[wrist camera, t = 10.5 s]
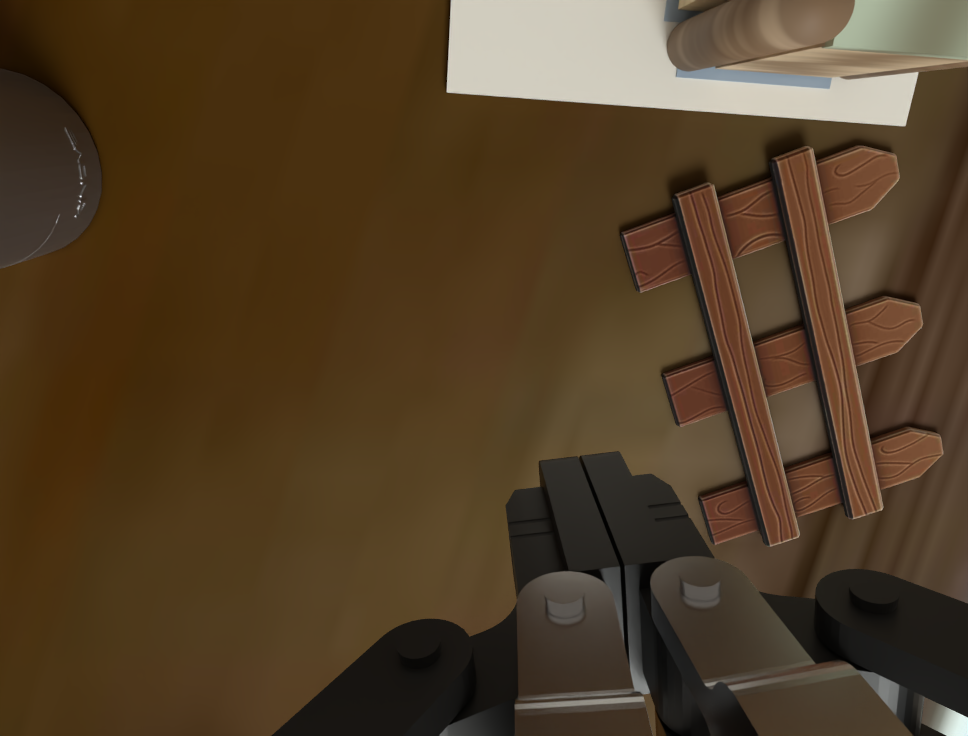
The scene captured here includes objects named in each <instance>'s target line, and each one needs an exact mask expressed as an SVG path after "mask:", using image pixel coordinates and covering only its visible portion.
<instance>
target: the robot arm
mask: <svg viewBox="0 0 968 736" xmlns="http://www.w3.org/2000/svg"><path fill="white" fill-rule="evenodd" d="M100 195H101V167H100V162H99V157H98V152H97V150H96V147H95V145H94V143H93V140H92V138H91V136H90V133H89V131H88V130H87V128H86V127H85V125H84V124H83V122H82V121H81V119H80V118H79V116H78V115H77V113H76V112H75V111H74V110H73V109H72V108H71V107H70V106H69V105H68V104H67V103H66V102H65V101H64V100H63V98H61V97H60V96H59V95H57V94H56V93H55V92H53V91H52V90H51V89H49V88H48V87H47V86H45V85H44V84H42V83H40V82H38V81H36V80H34V79H32V78H30V77H28V76H26V75H24V74H20V73H16V72H13V71H9V70H5V69H0V268H4V267H7V266H10V265H14V264H17V263H20V262H23V261H26V260H29V259H32V258H35V257H38V256H41V255H44V254H48V253H50V252H53V251H55V250H58V249H61V248H63V247H65V246H66V245H68V244H69V243H71V242H72V241H74V240H75V239H77V238H78V237H79V236H80V235H81V234H82V232H83V231H84V230H85V229H86V228H87V227H88V225H89V224H90V222H91V220H92V218H93V216H94V214H95V212H96V210H97V208H98V204H99V199H100ZM539 476H540V487H536V488H528V489H519V490H515V491H514V492H513V494H512V496H511V498H510V499H509V501H508V503H507V504H506V513H507V522H508V531H509V539H510V548H511V557H512V566H513V575H514V582H515V589H516V596H517V603H516V605H515V608H514V609H513V611H512V612H511V613H510V614H509V615H508V616H507V618H506V619H504V620H503V621H502V622H500V623H499V624H498V625H496V626H494V627H492V628H491V629H488V630H486V631H484V632H481V633H479V634H476V635H473V636H471V637H469V635H468V634H467V633H466V632H465V630H464V629H462V628H461V627H460V626H458V625H456V624H454V623H452V622H449V621H446V620H440V619H421V620H416V621H411V622H408V623H405V624H402V625H400V626H398V627H396V628H394V629H392V630H391V631H389V632H388V633H387V634H385V635H384V636H383V637H382V638H380V639H379V640H378V641H377V642H376V643H375V644H374V645H373V646H371V647H370V648H369V649H368V650H367V651H366V652H365V653H364V654H363V655H361V656H360V657H359V658H358V659H357V660H356V661H355V662H354V663H352V664H351V665H350V666H349V667H348V668H347V669H346V670H345V671H343V672H342V673H341V674H340V675H339V676H338V677H337V678H336V679H335V680H333V681H332V682H331V683H330V684H329V685H328V686H327V687H326V688H324V689H323V690H322V691H321V692H320V693H319V694H318V695H317V696H316V697H314V698H313V699H312V700H311V701H310V702H309V703H308V704H307V705H305V706H304V707H303V708H302V709H301V710H300V711H299V712H298V713H296V714H295V715H294V716H293V717H292V718H291V719H290V720H289V721H288V722H286V723H285V724H284V725H283V726H282V727H281V728H280V729H279V730H277V731H276V732H275V733H274V734H273V735H272V736H653V735H652V730H651V726H650V722H649V718H648V714H647V709H646V705H645V701H644V698H643V695H642V694H648V693H650V694H651V697H652V699H653V702H654V705H655V722H656V736H946V735H944V734H942V733H940V732H938V731H936V730H934V729H932V728H930V727H928V726H926V725H924V724H922V723H921V721H922V713H923V705H924V697H926V698H928V699H930V700H932V701H935V702H937V703H939V704H941V705H943V706H945V707H947V708H949V709H951V710H953V711H956V712H958V713H960V714H962V715H964V716H966V717H968V604H967V603H965V602H962V601H959V600H957V599H954V598H951V597H948V596H946V595H943V594H940V593H938V592H935V591H932V590H930V589H927V588H924V587H922V586H919V585H916V584H914V583H911V582H908V581H906V580H903V579H900V578H897V577H895V576H892V575H889V574H886V573H881V572H877V571H871V570H863V569H848V570H841V571H837V572H833V573H831V574H829V575H827V576H825V577H824V578H822V579H821V580H820V581H819V583H818V584H817V587H816V594H815V599H810V598H800V597H789V596H779V595H772V594H767V593H763V592H759V591H758V590H757V589H756V588H755V587H754V585H753V584H752V583H751V582H750V580H749V579H748V578H747V576H746V575H745V574H744V573H743V572H742V571H740V570H739V569H738V568H736V567H735V566H733V565H731V564H729V563H727V562H724V561H722V560H718V559H715V558H714V556H713V555H712V553H711V551H710V550H709V548H708V546H707V545H706V543H705V541H704V540H703V538H702V536H701V535H700V533H699V532H698V530H697V528H696V527H695V525H694V523H693V522H692V520H691V518H689V517H688V513H687V512H686V510H685V509H684V507H683V505H681V503H680V500H679V499H678V497H677V495H676V494H675V492H674V490H673V489H672V487H671V486H670V485H668V484H667V483H665V482H664V481H662V480H660V479H659V478H657V477H656V476H654V475H653V474H644V475H636V476H632V475H631V473H630V471H629V469H628V467H627V465H626V463H625V461H624V459H623V457H622V456H621V454H620V452H619V451H617V452H608V453H600V454H592V455H583V456H580V457H579V458H578V457H577V456H576V457H567V458H559V459H551V460H542V461H539Z"/></svg>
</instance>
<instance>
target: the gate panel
mask: <svg viewBox="0 0 968 736" xmlns="http://www.w3.org/2000/svg"><path fill="white" fill-rule="evenodd" d="M728 1H730V0H679V6H678V9H679V10H690V11H700V12H705V11H707V10H710V9H712V8H714V7H717V6H719V5H721V4H723V3H726V2H728Z"/></svg>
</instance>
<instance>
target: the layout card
mask: <svg viewBox="0 0 968 736" xmlns="http://www.w3.org/2000/svg"><path fill="white" fill-rule="evenodd" d="M678 6H679V0H451V11H450V32H449V53H448V74H447V93H460V94H473V95H487V96H500V97H514V98H527V99H541V100H554V101H568V102H581V103H595V104H608V105H622V106H636V107H649V108H663V109H676V110H690V111H703V112H717V113H730V114H744V115H757V116H771V117H784V118H798V119H812V120H825V121H839V122H852V123H866V124H879V125H893V126H905V125H906V121H907V117H908V113H909V109H910V105H911V101H912V97H913V93H914V89H915V85H916V80H917V76H918V72H914V73H905V74H896V75H887V76H878V77H869V78H860V79H851V80H846V79H842V78H840V77H833V78H827V77H815V76H802V75H789V74H776V73H763V72H750V71H738V70H725V69H715V67H710V68H705V69H701V70H696V71H690V72H687V71H682V70H680V69H678V68H676V67H675V66H674V65H673V64H672V63H671V61H670V59H669V57H668V53H667V42H668V38H669V36H670V33H671V32H672V30H673V29H674V28H675V27H676V26H677V25H678V24H679V23H681V22H682V21H685V20H687V19H689V18H692V17H694V16H696V15H698V14H701V13H703V12H700V11H690V10H679V9H678Z"/></svg>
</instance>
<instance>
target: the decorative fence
mask: <svg viewBox="0 0 968 736" xmlns="http://www.w3.org/2000/svg"><path fill="white" fill-rule="evenodd" d="M769 166H770V171H771V175H772V177H770V178H767V179H764V180H762V181H759V182H756V183H753V184H751V185H748V186H745V187H743V188H740V189H737V190H734V191H732V192H729V193H726V194H724V195H721V196H718V197H717V196H716V191H715V187H714V185H713V184H711V183H704V184H701V185H699V186H696V187H693V188H690V189H688V190H685V191H682V192H680V193H677V194H674V196H673V197H672V202H673V206H674V210H675V213H672V214H669V215H666V216H664V217H661V218H658V219H656V220H653V221H650V222H647V223H645V224H642V225H639V226H637V227H634V228H631V229H628V230H626V231H623V232H621V234H620V238H621V241H622V244H623V248H624V251H625V254H626V258H627V261H628V264H629V268H630V271H631V275H632V278H633V281H634V285H635V288H636V290H637V291H638V292H640V293H641V292H643V291H646V290H649V289H652V288H654V287H657V286H660V285H663V284H666V283H668V282H671V281H674V280H677V279H679V278H682V277H685V276H688V275H691V274H692V277H693V281H694V285H695V288H696V292H697V296H698V300H699V303H700V307H701V311H702V315H703V318H704V322H705V326H706V330H707V333H708V337H709V341H710V344H711V348H712V352H713V356H710V357H708V358H705V359H702V360H699V361H696V362H693V363H691V364H688V365H685V366H682V367H679V368H676V369H673V370H671V371H668V372H665V373H663V374H662V379H663V382H664V386H665V389H666V392H667V396H668V399H669V402H670V406H671V409H672V413H673V416H674V419H675V423H676V425H677V426H679V427H681V426H684V425H687V424H690V423H693V422H696V421H699V420H702V419H705V418H708V417H711V416H713V415H716V414H719V413H722V412H725V411H728V412H729V416H730V419H731V423H732V427H733V431H734V434H735V438H736V442H737V445H738V449H739V453H740V457H741V460H742V464H743V468H744V472H745V475H746V479H747V481H744V482H741V483H738V484H735V485H732V486H729V487H726V488H723V489H720V490H717V491H714V492H711V493H708V494H705V495H702V496H699V498H698V500H699V503H700V507H701V510H702V514H703V517H704V520H705V524H706V527H707V530H708V534H709V537H710V540H711V542H712V544H714V545H715V544H718V543H721V542H724V541H727V540H730V539H733V538H736V537H739V536H743V535H746V534H749V533H752V532H755V531H758V530H760V532H761V535H762V539H763V542H764V544H765V545H766V546H769V547H770V546H773V545H776V544H780V543H783V542H786V541H789V540H792V539H795V538H798V537H799V535H800V533H799V529H798V525H797V521H796V518H797V517H800V516H803V515H806V514H809V513H812V512H815V511H818V510H821V509H824V508H827V507H830V506H833V505H836V504H839V503H842V502H843V506H844V511H845V515H846V516H847V517H848V518H849V519H852V520H853V519H856V518H859V517H862V516H865V515H868V514H871V513H874V512H877V511H880V510H882V509H883V503H882V498H881V493H880V490H882V489H885V488H888V487H891V486H894V485H897V484H900V483H903V482H906V481H909V480H912V479H915V478H918V477H920V476H921V475H922V474H923V473H924V472H925V471H926V470H927V469H928V468H929V467H930V466H931V465H932V464H933V463H934V462H935V461H936V460H937V459H938V458H939V457H941V456H942V455H943V448H942V441H941V436H940V435H939V434H937V433H935V432H932V431H927V430H922V429H917V428H912V427H904V428H901V429H898V430H895V431H892V432H889V433H886V434H883V435H880V436H877V437H874V438H871V439H870V437H869V432H868V427H867V421H866V416H865V411H864V406H863V401H862V396H861V391H860V386H859V381H858V376H857V370H856V366H859V365H862V364H865V363H867V362H870V361H873V360H876V359H879V358H882V357H885V356H888V355H891V354H894V353H896V352H898V351H899V350H900V349H901V348H902V347H903V346H904V345H905V344H906V343H907V342H908V341H909V340H910V339H911V338H912V337H913V336H914V335H915V334H916V332H917V331H918V330H919V329H920V328H921V327H922V325H923V321H922V315H921V309H920V305H919V304H917V303H914V302H910V301H906V300H901V299H897V298H892V297H888V296H881V297H878V298H875V299H873V300H870V301H867V302H864V303H861V304H858V305H856V306H853V307H850V308H847V309H844V304H843V299H842V294H841V289H840V284H839V279H838V274H837V268H836V263H835V258H834V253H833V248H832V243H831V238H830V233H829V228H828V225H829V224H832V223H835V222H838V221H840V220H843V219H846V218H849V217H852V216H854V215H857V214H860V213H863V212H865V211H868V210H871V209H872V208H874V207H875V206H876V205H877V203H878V202H879V201H880V200H881V199H882V198H883V197H884V196H885V195H886V194H887V192H888V191H889V190H890V189H891V188H892V187H893V186H894V185H895V184H896V182H897V181H898V180H899V177H900V176H899V170H898V163H897V157H896V155H895V154H894V153H890V152H886V151H882V150H878V149H874V148H870V147H866V146H854V147H851V148H849V149H846V150H843V151H840V152H838V153H835V154H832V155H830V156H827V157H824V158H821V159H819V160H816V161H815V156H814V151H813V148H811V147H809V146H804V147H801V148H799V149H796V150H793V151H791V152H788V153H785V154H783V155H780V156H777V157H774V158H772V159H771V160H770V162H769ZM785 240H786V244H787V249H788V253H789V258H790V263H791V267H792V272H793V276H794V281H795V286H796V290H797V295H798V299H799V304H800V309H801V313H802V318H803V322H804V324H801V325H799V326H796V327H793V328H790V329H787V330H784V331H782V332H779V333H776V334H773V335H770V336H767V337H764V338H762V339H759V340H756V341H753V342H752V338H751V334H750V330H749V326H748V322H747V318H746V314H745V309H744V305H743V301H742V297H741V293H740V289H739V285H738V281H737V277H736V273H735V269H734V265H733V261H732V259H735V258H738V257H741V256H743V255H746V254H749V253H752V252H754V251H757V250H760V249H763V248H766V247H768V246H771V245H774V244H777V243H779V242H782V241H785ZM815 380H816V382H817V387H818V391H819V396H820V400H821V405H822V410H823V414H824V419H825V423H826V428H827V433H828V437H829V442H830V446H831V451H832V452H830V453H827V454H824V455H821V456H818V457H815V458H812V459H809V460H806V461H803V462H800V463H797V464H794V465H791V466H788V467H785V468H783V464H782V460H781V456H780V452H779V448H778V444H777V440H776V436H775V432H774V427H773V423H772V419H771V415H770V411H769V407H768V403H767V399H766V397H769V396H772V395H774V394H777V393H780V392H783V391H786V390H789V389H792V388H795V387H798V386H801V385H803V384H806V383H809V382H812V381H815Z"/></svg>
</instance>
